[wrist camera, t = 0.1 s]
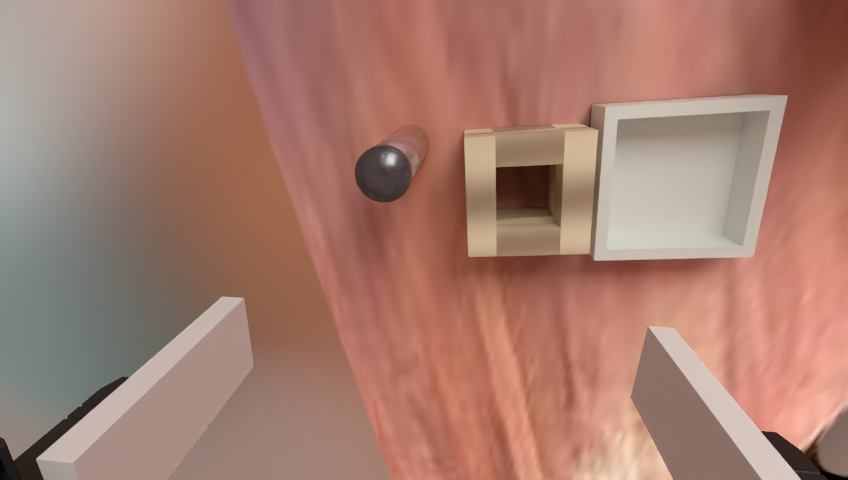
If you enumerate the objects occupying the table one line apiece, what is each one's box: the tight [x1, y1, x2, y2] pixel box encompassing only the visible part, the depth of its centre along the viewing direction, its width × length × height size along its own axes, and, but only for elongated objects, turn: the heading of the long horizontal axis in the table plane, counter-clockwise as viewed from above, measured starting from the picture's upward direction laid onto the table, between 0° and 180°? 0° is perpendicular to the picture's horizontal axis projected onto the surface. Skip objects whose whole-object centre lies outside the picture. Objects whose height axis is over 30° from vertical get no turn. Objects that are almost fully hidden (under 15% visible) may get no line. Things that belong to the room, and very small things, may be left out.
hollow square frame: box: [464, 123, 598, 257], centre depth 37 cm, size 10×10×6 cm
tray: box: [589, 94, 788, 261], centre depth 36 cm, size 13×13×4 cm
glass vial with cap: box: [355, 125, 429, 202], centre depth 33 cm, size 4×4×14 cm
